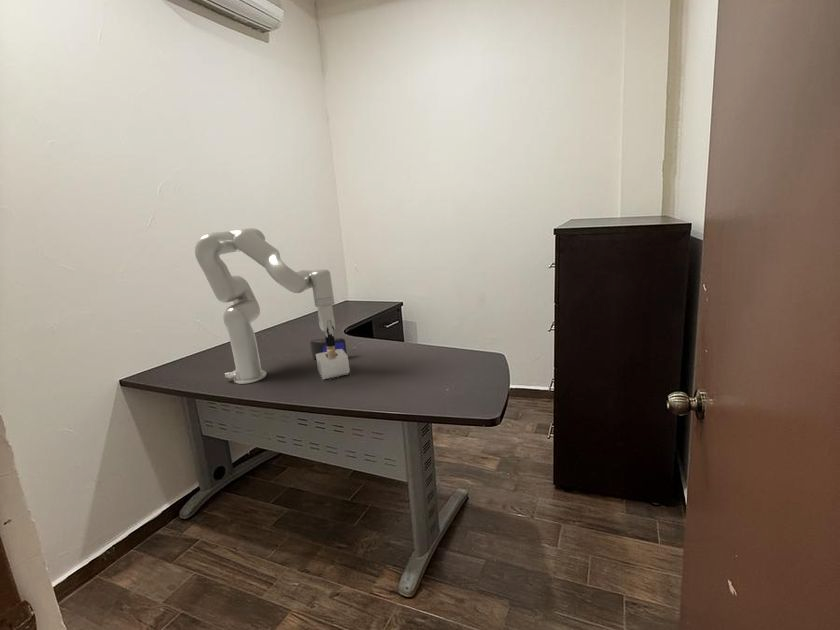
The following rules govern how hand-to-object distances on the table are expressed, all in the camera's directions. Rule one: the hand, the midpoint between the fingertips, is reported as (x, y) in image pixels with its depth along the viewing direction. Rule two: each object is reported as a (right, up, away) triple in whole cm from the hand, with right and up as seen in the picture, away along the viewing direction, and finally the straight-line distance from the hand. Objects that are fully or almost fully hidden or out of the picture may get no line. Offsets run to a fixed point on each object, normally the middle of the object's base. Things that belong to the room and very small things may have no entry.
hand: (330, 345), depth 167 cm
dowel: (+1, -12, +3) cm, 12 cm away
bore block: (+1, -12, +3) cm, 12 cm away
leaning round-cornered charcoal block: (-5, -8, +22) cm, 24 cm away
